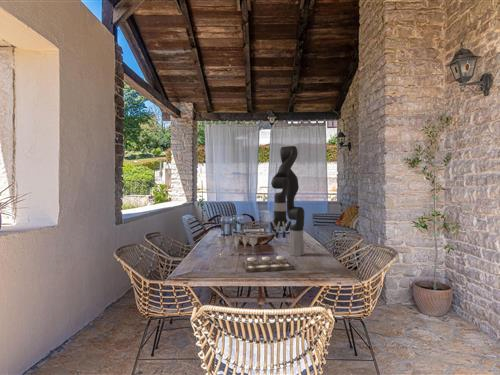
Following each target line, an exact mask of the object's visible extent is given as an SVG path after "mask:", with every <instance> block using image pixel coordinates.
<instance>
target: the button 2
mask: <svg viewBox="0 0 500 375" xmlns="http://www.w3.org/2000/svg"><path fill="white" fill-rule="evenodd" d="M275 258H276V260H277V261H281V260H285V259H286V257H285V256H284V255H277V256H276V257H275Z"/></svg>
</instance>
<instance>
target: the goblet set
mask: <svg viewBox="0 0 500 375" xmlns="http://www.w3.org/2000/svg"><path fill="white" fill-rule="evenodd" d="M232 242H233V243H234V245H235V247H236V250H238V246H239V243H240V236H239V235H237V234H236V235H234V237H233V236H232V235H225V236H224V237H223V236H219V237H216V243H217V245H218V247H219V251H220V252H219V253H218V254H217V256H224V254H223V253H222V252H221V251H222V246H223V244H224V243H225V244H226V245H227V249H228V253H225V256H231V255H234V256H239V254H240V253H234V254H233V253H230V246H231V244H232ZM247 243H249V245H251V247H252V249H254V247H255V246H256V245H257V243H258V238H257V236H249V238H248V235H242V244H243V246H244V248H246V246H247ZM251 253H252V254H254V252H251ZM243 254H244V255H243V256H247V255H246V254H247V253H243Z"/></svg>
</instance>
